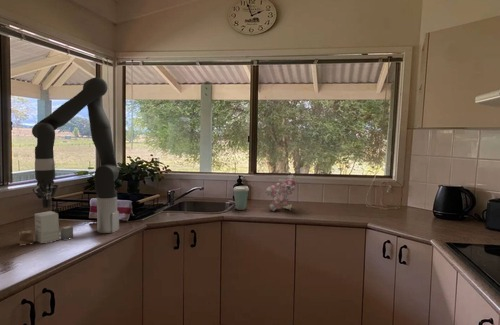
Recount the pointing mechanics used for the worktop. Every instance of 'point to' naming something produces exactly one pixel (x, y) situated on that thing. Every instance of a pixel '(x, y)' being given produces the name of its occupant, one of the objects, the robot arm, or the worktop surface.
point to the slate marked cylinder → (66, 232)
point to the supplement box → (46, 227)
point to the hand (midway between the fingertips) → (46, 207)
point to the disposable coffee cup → (241, 196)
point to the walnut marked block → (26, 237)
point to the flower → (285, 187)
